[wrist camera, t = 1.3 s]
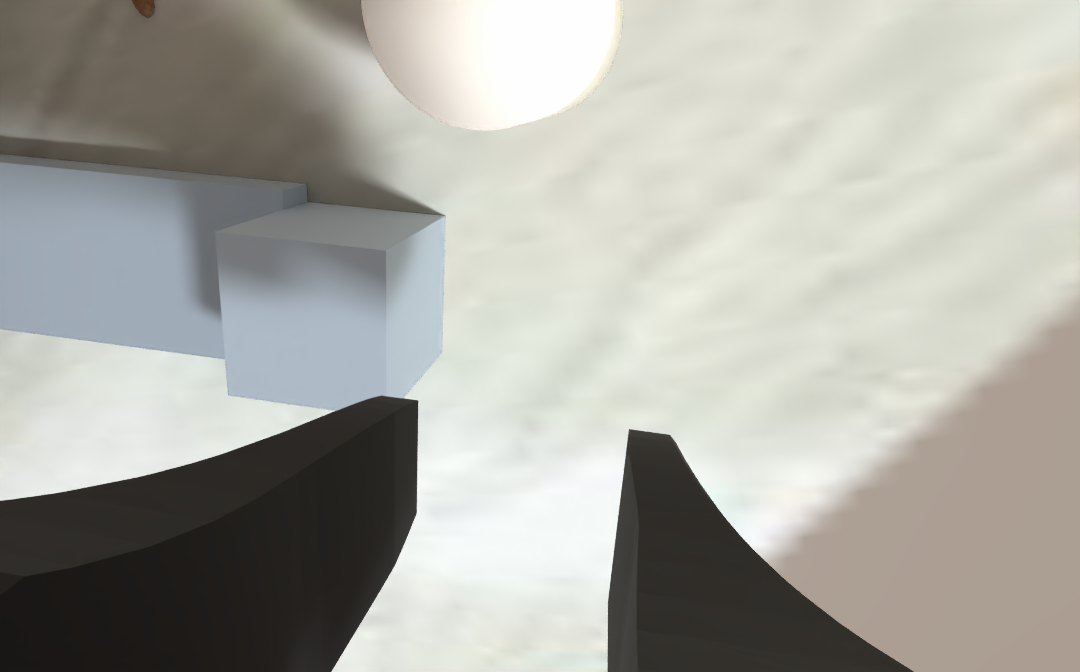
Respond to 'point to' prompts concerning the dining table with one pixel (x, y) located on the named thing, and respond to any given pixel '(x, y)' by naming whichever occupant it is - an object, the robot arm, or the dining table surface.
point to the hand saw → (145, 7)
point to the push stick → (224, 276)
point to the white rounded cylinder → (494, 55)
